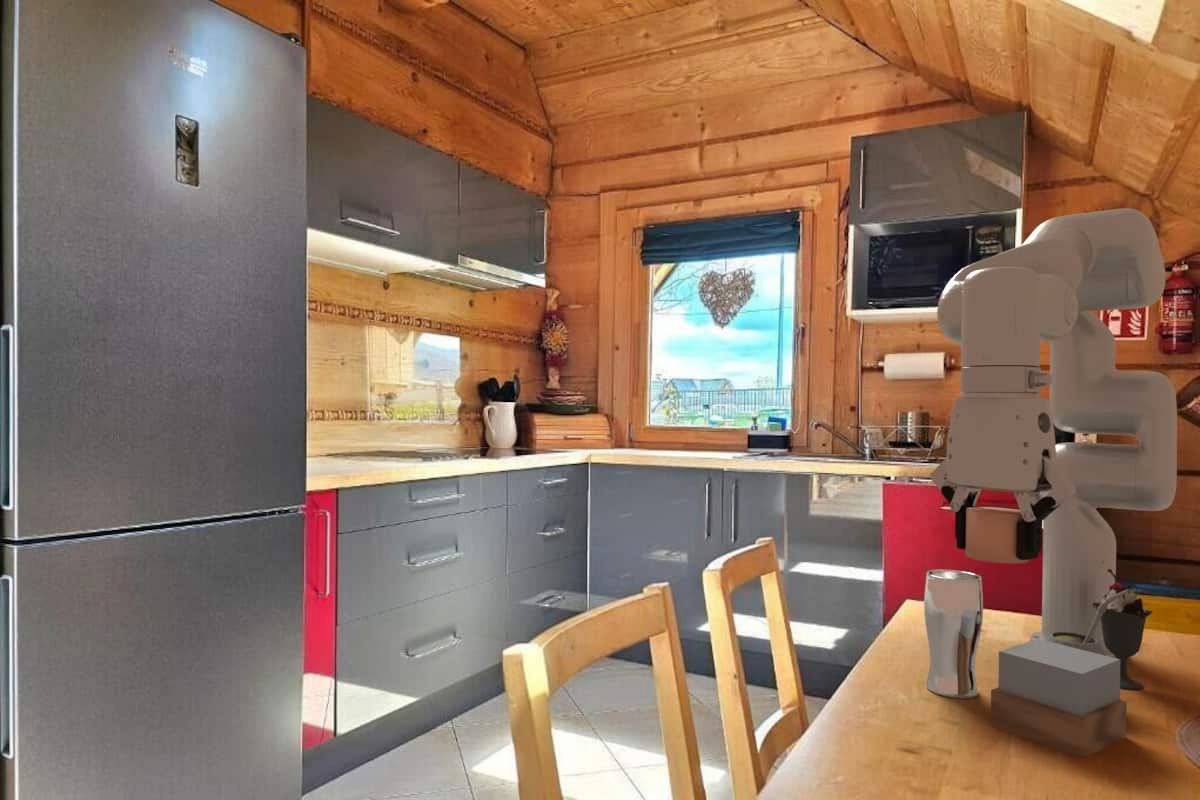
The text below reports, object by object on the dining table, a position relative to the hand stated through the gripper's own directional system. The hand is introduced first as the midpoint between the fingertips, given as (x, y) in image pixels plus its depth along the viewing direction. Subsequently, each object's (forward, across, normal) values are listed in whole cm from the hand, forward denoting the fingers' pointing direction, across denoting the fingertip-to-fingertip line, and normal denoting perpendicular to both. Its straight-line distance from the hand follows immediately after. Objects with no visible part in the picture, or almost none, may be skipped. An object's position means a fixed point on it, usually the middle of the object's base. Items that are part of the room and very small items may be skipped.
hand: (996, 551), depth 84 cm
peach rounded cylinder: (+1, 0, 0) cm, 1 cm away
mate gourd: (+22, +2, -23) cm, 32 cm away
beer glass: (+22, +13, -13) cm, 28 cm away
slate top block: (+17, -1, -12) cm, 21 cm away
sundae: (+22, +3, -35) cm, 41 cm away
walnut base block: (+22, -1, -11) cm, 25 cm away
